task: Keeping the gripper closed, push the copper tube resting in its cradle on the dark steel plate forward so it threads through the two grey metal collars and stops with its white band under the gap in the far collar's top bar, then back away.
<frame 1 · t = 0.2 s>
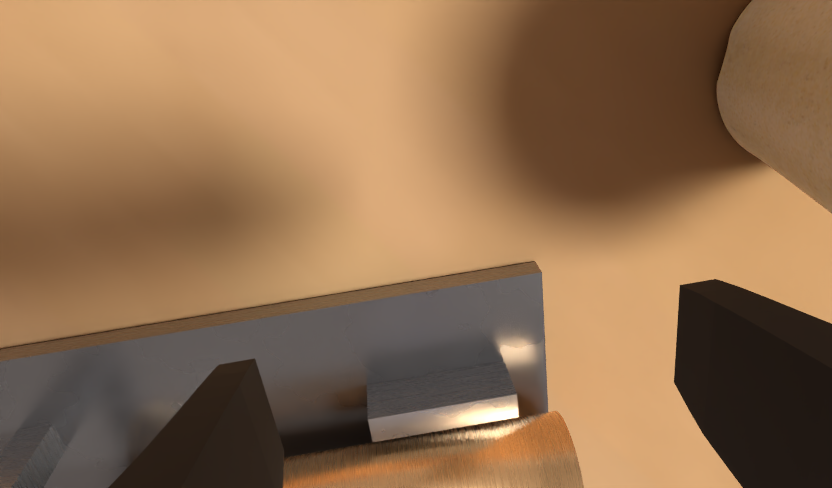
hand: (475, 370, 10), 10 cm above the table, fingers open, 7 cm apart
flower pot: (805, 58, 19), on the table
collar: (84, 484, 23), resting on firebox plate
firebox plate: (201, 464, 23), on the table
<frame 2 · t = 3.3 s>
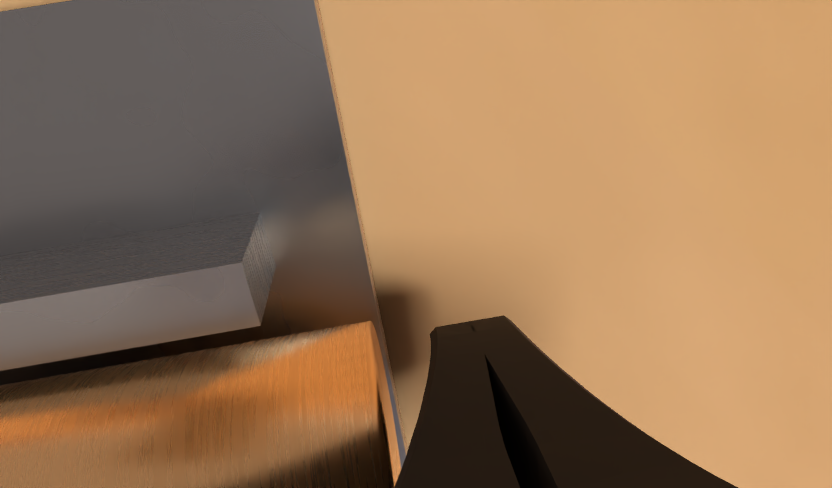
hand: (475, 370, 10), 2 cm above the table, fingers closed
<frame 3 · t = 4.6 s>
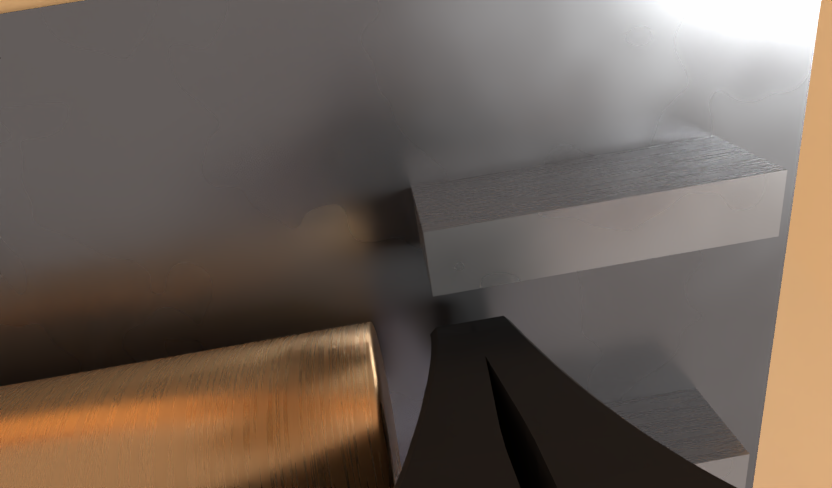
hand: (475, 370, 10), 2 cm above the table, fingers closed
firebox plate: (72, 384, 11), on the table
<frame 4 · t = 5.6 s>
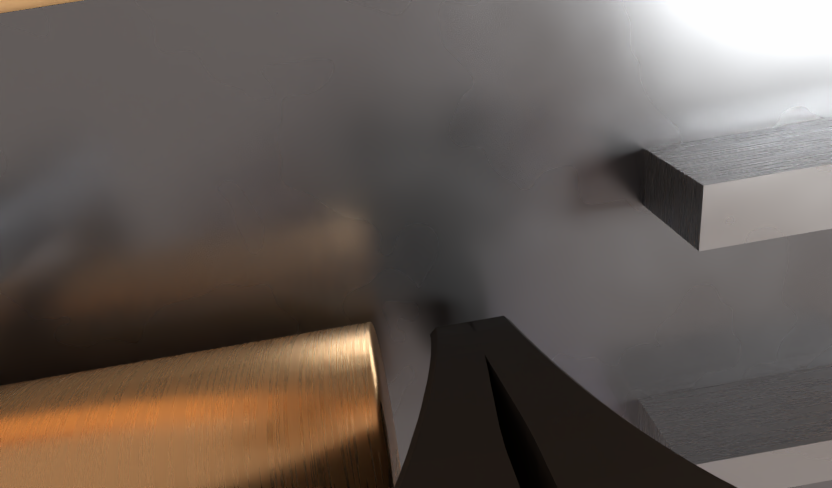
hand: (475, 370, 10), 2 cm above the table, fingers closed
firebox plate: (270, 349, 12), on the table
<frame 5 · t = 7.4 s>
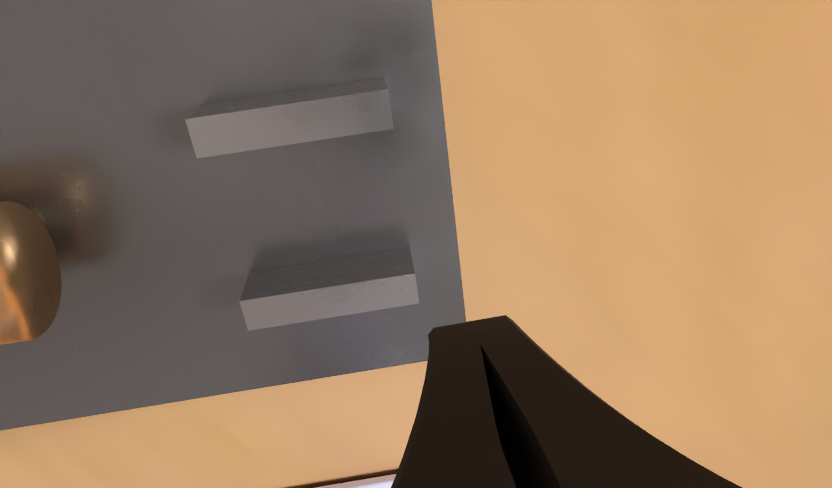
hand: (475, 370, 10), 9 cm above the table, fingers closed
firebox plate: (5, 234, 18), on the table
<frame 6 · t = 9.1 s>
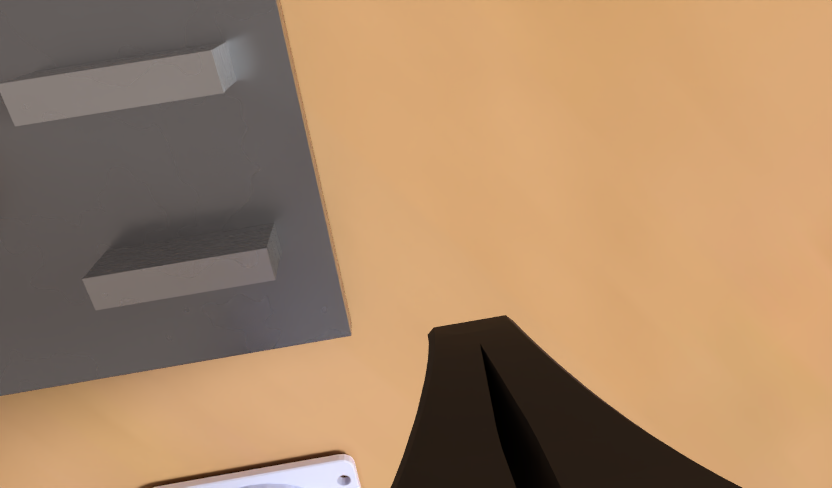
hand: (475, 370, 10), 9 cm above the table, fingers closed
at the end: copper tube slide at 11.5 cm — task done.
